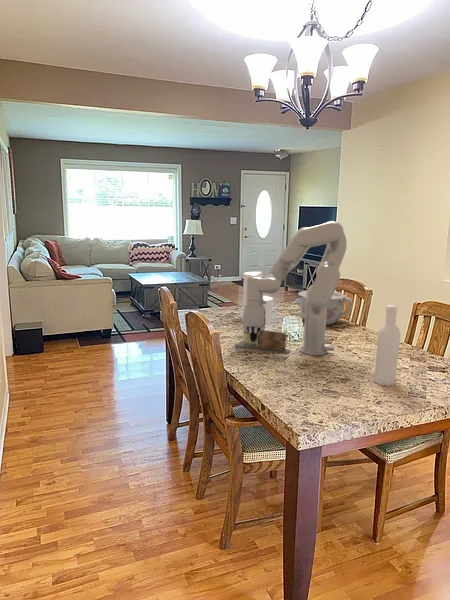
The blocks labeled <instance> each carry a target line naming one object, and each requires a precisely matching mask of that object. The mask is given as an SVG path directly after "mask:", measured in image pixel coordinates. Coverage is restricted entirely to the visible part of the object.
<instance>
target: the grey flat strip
mask: <svg viewBox="0 0 450 600" xmlns="http://www.w3.org/2000/svg"><path fill="white" fill-rule="evenodd" d="M235 348H240V349H248V350H249V349H250V350H256V351H264V352H272V353H273V352H274V353H281V354H288V355H289V354H290V353H291V349H287V348H285V351H280V350H272V349H264V348H259V346H255V345H247V344H244V343H237V344H235Z"/></svg>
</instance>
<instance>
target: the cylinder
mask: <svg viewBox="0 0 450 600" xmlns="http://www.w3.org/2000/svg"><path fill="white" fill-rule="evenodd" d="M249 276H261V277H263V271H246V272H244V273H243V284H242V285H243V287H242V289H243V290H242V291H243V292H242V316H241V317H242V318H241V321H242V322H243V314H244V308H245V305H246V304H247V279H248V277H249ZM263 300H264V301H266V304H263V305H264V306H265V314H266V324H265V326H266V325H270V324H272V323H273V307H274V305H273V304H274V298H273V297H272V296H268V295H263Z"/></svg>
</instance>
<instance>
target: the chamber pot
mask: <svg viewBox="0 0 450 600" xmlns="http://www.w3.org/2000/svg"><path fill="white" fill-rule="evenodd" d="M306 292H307V289H306V290H302V291H299V292H298V293H297V295H298V296H300V297H301V299H300V301H299V308H300V309H299V310H300V313H301V315H302V317H303V319H304V320H305V311H306ZM344 302H348V303H349V308H348V309H347V310H346V311H344V312H343V306H345V305H344ZM353 302H354V301H352V298H350V297H347V295H346V294H345V293H341V292H339V291H334V293H333V296H332V298H331V300H330V302H329V304H328V305H327V316H326V326H329V325H332V324H335V323H336V322H337V321H339V320H340V319H341V318H342V317H343V316H345V315H346V314H348V313H349V312H350V311H352V310H353V308H354V303H353Z"/></svg>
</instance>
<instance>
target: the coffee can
mask: <svg viewBox="0 0 450 600" xmlns="http://www.w3.org/2000/svg"><path fill="white" fill-rule="evenodd" d="M242 330H243V333H242V344H247V345H255V346H259V341H260V331H259V332H257V340H256V341H255V342H253V341H252V342H251V339H250V333H249V331H248V330H247V329H245V328H243V329H242ZM253 331H255V327H253ZM263 331H265V330H263Z"/></svg>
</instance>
